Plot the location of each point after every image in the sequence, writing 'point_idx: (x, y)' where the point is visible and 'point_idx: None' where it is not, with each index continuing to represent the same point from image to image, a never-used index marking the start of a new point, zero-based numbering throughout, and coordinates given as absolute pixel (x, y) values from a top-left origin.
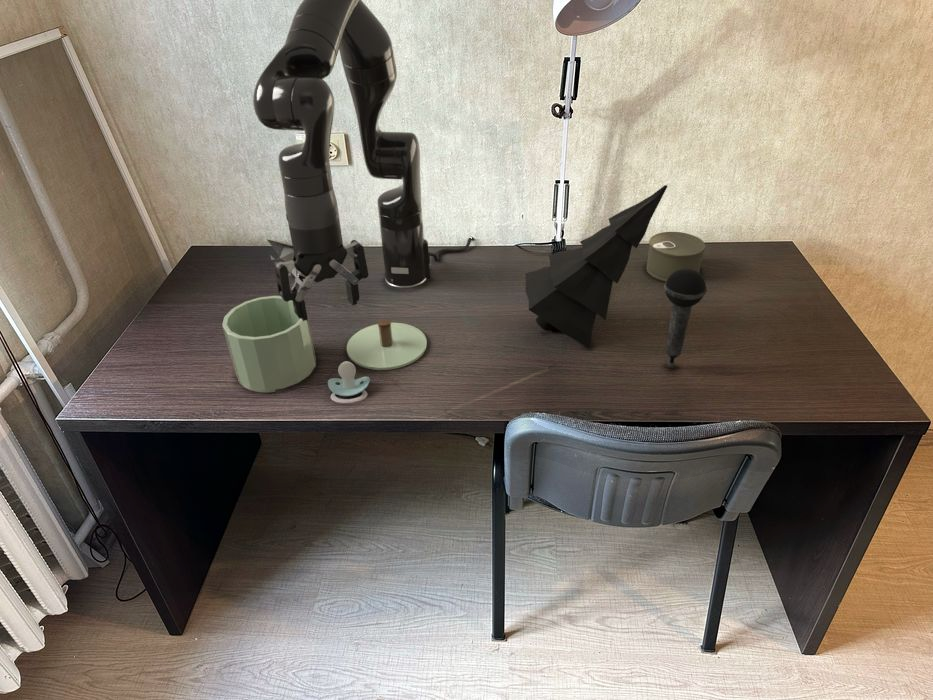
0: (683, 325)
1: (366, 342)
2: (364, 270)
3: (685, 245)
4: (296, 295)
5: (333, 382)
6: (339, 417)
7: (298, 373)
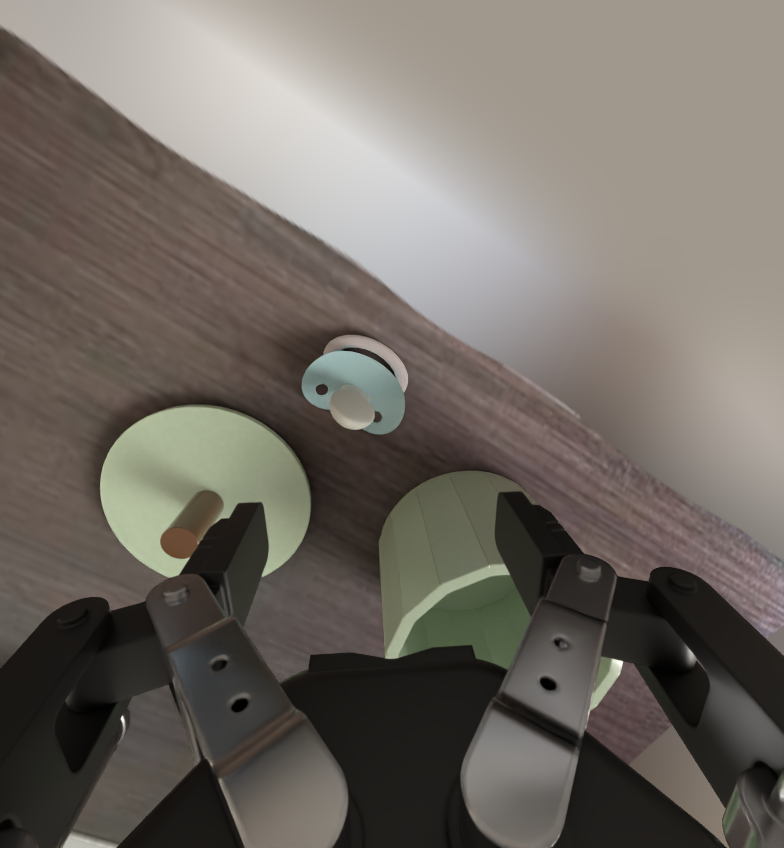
0: None
1: None
2: (43, 652)
3: None
4: (613, 590)
5: (385, 421)
6: (414, 311)
7: (446, 488)
